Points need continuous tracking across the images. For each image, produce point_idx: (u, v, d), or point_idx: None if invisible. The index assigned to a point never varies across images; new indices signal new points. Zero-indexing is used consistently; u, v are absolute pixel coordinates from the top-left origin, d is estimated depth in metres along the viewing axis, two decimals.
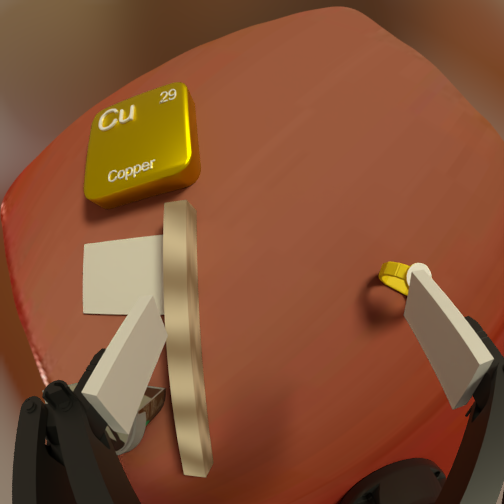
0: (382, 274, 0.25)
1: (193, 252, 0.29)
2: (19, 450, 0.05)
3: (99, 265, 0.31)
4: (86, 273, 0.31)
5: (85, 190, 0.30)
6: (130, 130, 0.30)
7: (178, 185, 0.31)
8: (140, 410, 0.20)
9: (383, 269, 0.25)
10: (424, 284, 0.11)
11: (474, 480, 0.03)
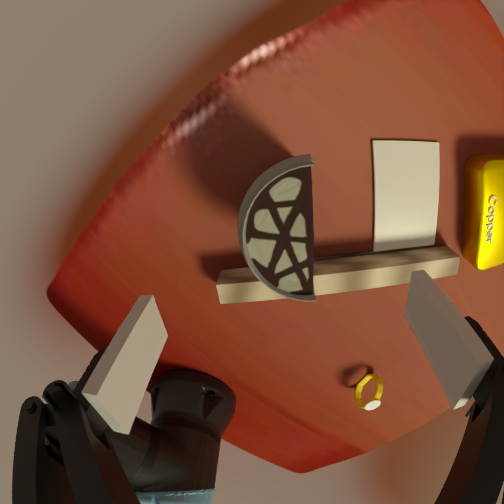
0: (376, 382, 0.37)
1: None
2: (19, 450, 0.05)
3: (420, 166, 0.27)
4: (412, 146, 0.26)
5: (489, 165, 0.22)
6: None
7: (465, 247, 0.30)
8: None
9: (379, 381, 0.38)
10: (424, 284, 0.11)
11: (474, 480, 0.03)
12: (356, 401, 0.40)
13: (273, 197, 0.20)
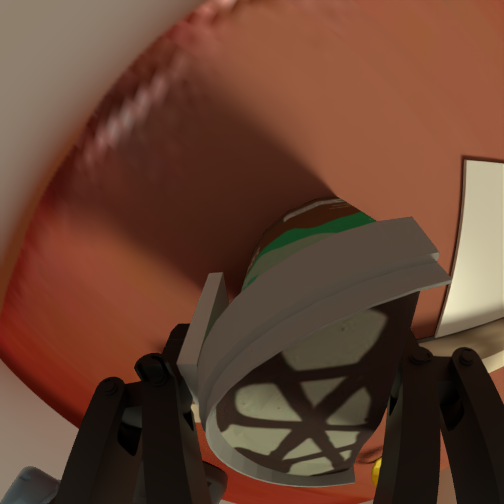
0: None
1: None
2: (84, 434, 0.06)
3: None
4: None
5: None
6: None
7: None
8: None
9: None
10: None
11: (401, 480, 0.04)
12: (373, 480, 0.25)
13: (293, 361, 0.06)
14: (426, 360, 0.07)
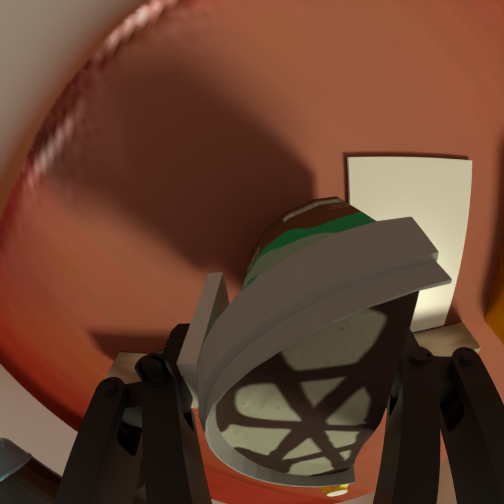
0: None
1: None
2: (84, 434, 0.06)
3: (437, 204, 0.14)
4: (427, 168, 0.13)
5: None
6: None
7: (492, 312, 0.17)
8: None
9: None
10: None
11: (401, 480, 0.04)
12: None
13: (292, 361, 0.06)
14: (425, 360, 0.07)
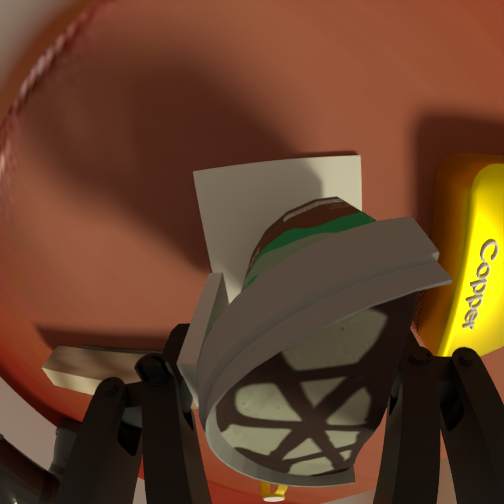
0: None
1: None
2: (84, 434, 0.06)
3: None
4: (289, 171, 0.14)
5: (490, 174, 0.10)
6: None
7: (423, 326, 0.17)
8: None
9: None
10: None
11: (401, 480, 0.04)
12: (261, 486, 0.28)
13: (293, 361, 0.06)
14: (426, 360, 0.07)
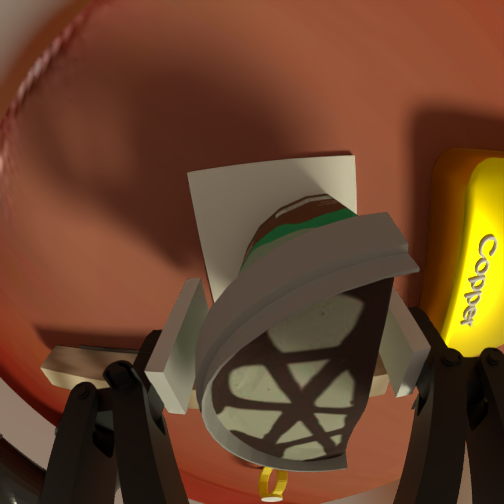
0: (277, 477, 0.26)
1: None
2: (61, 437, 0.06)
3: None
4: (283, 171, 0.14)
5: (489, 168, 0.10)
6: None
7: None
8: None
9: (281, 476, 0.26)
10: None
11: (426, 478, 0.04)
12: (259, 486, 0.28)
13: (279, 343, 0.07)
14: (457, 362, 0.07)
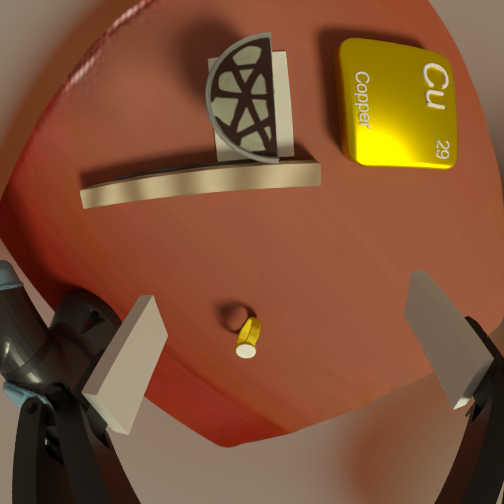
0: (252, 324, 0.38)
1: None
2: (19, 450, 0.05)
3: None
4: None
5: (352, 41, 0.21)
6: (413, 101, 0.23)
7: (341, 141, 0.29)
8: None
9: (255, 324, 0.38)
10: (424, 285, 0.11)
11: (474, 480, 0.03)
12: (236, 348, 0.41)
13: (236, 61, 0.19)
14: None
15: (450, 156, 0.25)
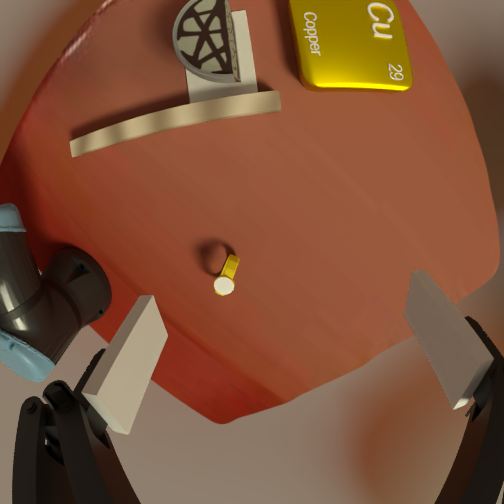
0: (229, 258, 0.39)
1: (240, 115, 0.32)
2: (19, 450, 0.05)
3: None
4: None
5: None
6: (360, 33, 0.24)
7: (299, 72, 0.30)
8: (234, 77, 0.25)
9: (233, 259, 0.39)
10: (424, 284, 0.11)
11: (474, 480, 0.03)
12: None
13: (197, 10, 0.20)
14: None
15: (405, 78, 0.26)
